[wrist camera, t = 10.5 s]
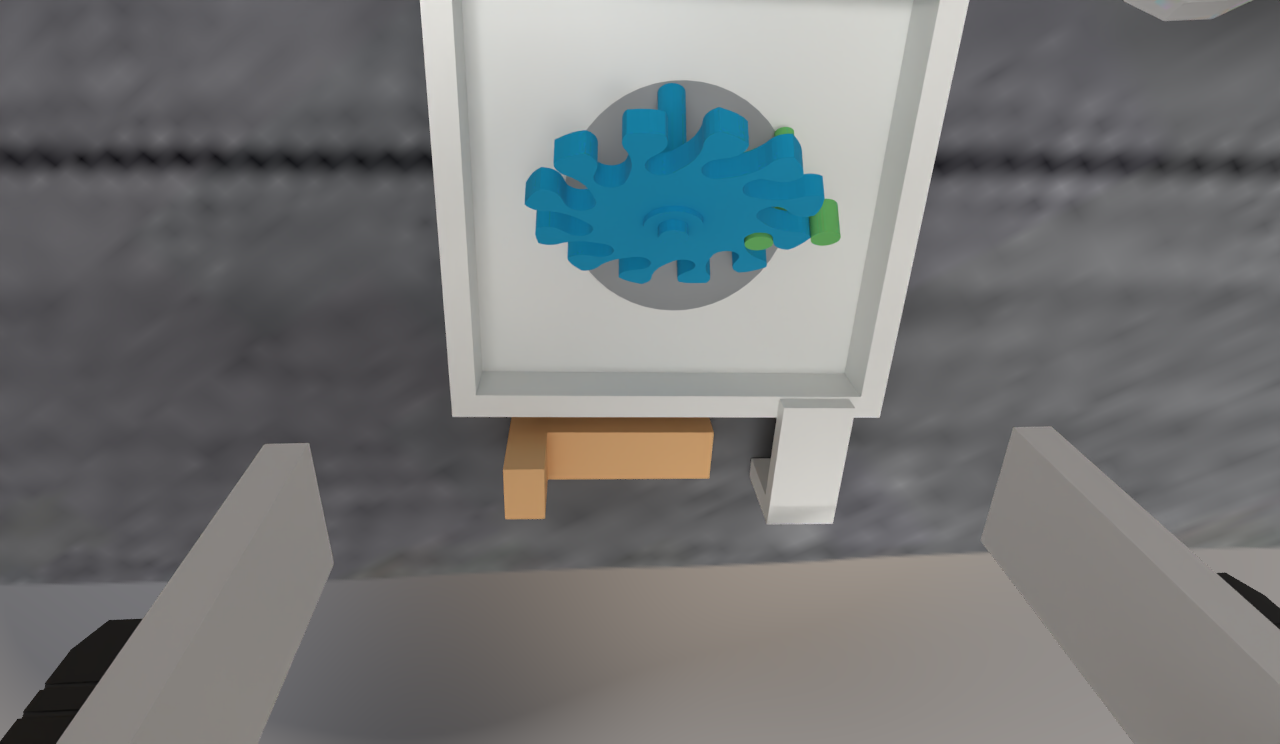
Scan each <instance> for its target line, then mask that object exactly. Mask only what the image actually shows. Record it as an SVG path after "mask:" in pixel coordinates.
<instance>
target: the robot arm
mask: <svg viewBox="0 0 1280 744" xmlns="http://www.w3.org/2000/svg"><path fill="white" fill-rule="evenodd" d="M981 542H982V543H983V545H984V546H985V547H986V549H987V550H988V551H989V553H990V554H991V555H992V556H993V558H994V559H995V560H996V562H997V563H998V564H999V566H1000V567H1001V568H1002V570H1003V571H1004V572H1005V574H1006V575H1007V576H1008V577H1009V579H1010V580H1011V582H1012V583H1013V584H1014V586H1015V587H1016V588H1017V589H1018V591H1019V592H1020V594H1021V595H1022V596H1023V597H1024V599H1025V600H1026V601H1027V603H1028V604H1029V605H1030V607H1031V608H1032V609H1033V611H1034V612H1035V613H1036V615H1037V616H1038V617H1039V619H1040V620H1041V621H1042V623H1043V624H1044V625H1045V627H1046V628H1047V629H1048V631H1049V632H1050V633H1051V635H1052V636H1053V637H1054V639H1055V640H1056V641H1057V642H1058V644H1059V645H1060V646H1061V648H1062V649H1063V650H1064V652H1065V653H1066V654H1067V656H1068V657H1069V658H1070V660H1071V661H1072V662H1073V664H1074V665H1075V666H1076V668H1077V669H1078V670H1079V672H1080V673H1081V674H1082V675H1083V677H1084V678H1085V679H1086V681H1087V682H1088V683H1089V684H1090V686H1091V687H1092V689H1093V690H1094V691H1095V693H1096V694H1097V695H1098V697H1099V698H1100V699H1101V701H1102V702H1103V703H1104V705H1105V706H1106V707H1107V709H1108V710H1109V711H1110V712H1111V714H1112V715H1113V717H1114V718H1115V719H1116V720H1117V722H1118V723H1119V724H1120V726H1121V727H1122V728H1123V730H1124V731H1125V732H1126V734H1127V735H1128V736H1129V738H1130V739H1131V740H1132V742H1133V743H1134V744H1280V608H1279V607H1277V606H1276V605H1275V604H1274V603H1272V602H1271V601H1270V600H1269V599H1268V598H1267V597H1266V596H1265V595H1263V594H1261V593H1260V592H1258V591H1256V590H1254V589H1253V588H1251V587H1249V586H1247V585H1246V584H1244V583H1242V582H1240V581H1239V580H1237V579H1235V578H1234V577H1232V576H1230V575H1228V574H1227V573H1215V572H1214V571H1213V570H1212V569H1211V568H1210V567H1209V566H1208V565H1206V564H1205V563H1204V562H1203V561H1202V560H1201V559H1200V558H1198V557H1197V556H1196V555H1195V554H1194V553H1193V552H1192V551H1191V550H1190V549H1188V548H1187V547H1186V546H1185V545H1184V544H1183V543H1182V542H1181V541H1179V540H1178V539H1177V538H1176V537H1175V536H1174V535H1173V534H1172V533H1170V532H1169V531H1168V530H1167V529H1166V528H1165V527H1164V526H1163V525H1161V524H1160V523H1159V522H1158V521H1157V520H1156V519H1155V518H1154V517H1152V516H1151V515H1150V514H1149V513H1148V512H1147V511H1146V510H1145V509H1143V508H1142V507H1141V506H1140V505H1139V504H1138V503H1137V502H1136V501H1134V500H1133V499H1132V498H1131V497H1130V496H1129V495H1128V494H1127V493H1125V492H1124V491H1123V490H1122V489H1121V488H1120V487H1119V486H1118V485H1116V484H1115V483H1114V482H1113V481H1112V480H1111V479H1110V478H1109V477H1107V476H1106V475H1105V474H1104V473H1103V472H1102V471H1101V470H1100V469H1098V468H1097V467H1096V466H1095V465H1094V464H1093V463H1092V462H1091V461H1089V460H1088V459H1087V458H1086V457H1085V456H1084V455H1083V454H1082V453H1080V452H1079V451H1078V450H1077V449H1076V448H1075V447H1074V446H1073V445H1071V444H1070V443H1069V442H1068V441H1067V440H1066V439H1065V438H1064V437H1062V436H1061V435H1060V434H1059V433H1058V432H1057V431H1056V430H1055V429H1053V428H1052V427H1051V426H1047V427H1013V430H1012V434H1011V437H1010V441H1009V444H1008V448H1007V451H1006V455H1005V458H1004V461H1003V465H1002V468H1001V472H1000V475H999V479H998V482H997V486H996V489H995V493H994V496H993V500H992V503H991V507H990V510H989V513H988V517H987V520H986V524H985V527H984V531H983V534H982V538H981ZM333 565H334V562H333V557H332V552H331V547H330V542H329V537H328V533H327V528H326V523H325V518H324V513H323V508H322V503H321V499H320V494H319V489H318V484H317V479H316V474H315V469H314V465H313V460H312V455H311V450H310V445H309V443H287V444H264V445H263V447H262V448H261V450H260V451H259V452H258V454H257V455H256V457H255V458H254V460H253V461H252V462H251V464H250V465H249V467H248V468H247V470H246V471H245V473H244V474H243V475H242V477H241V478H240V480H239V481H238V483H237V484H236V485H235V487H234V488H233V490H232V491H231V493H230V494H229V496H228V497H227V498H226V500H225V501H224V503H223V504H222V506H221V507H220V508H219V510H218V511H217V513H216V514H215V516H214V517H213V519H212V520H211V521H210V523H209V524H208V526H207V527H206V529H205V530H204V532H203V533H202V534H201V536H200V537H199V539H198V540H197V542H196V543H195V544H194V546H193V547H192V549H191V550H190V552H189V553H188V555H187V556H186V557H185V559H184V560H183V562H182V563H181V565H180V566H179V567H178V569H177V570H176V572H175V573H174V575H173V576H172V578H171V579H170V580H169V582H168V583H167V585H166V586H165V588H164V589H163V591H162V592H161V593H160V595H159V596H158V598H157V599H156V601H155V602H154V604H153V605H152V606H151V608H150V609H149V611H148V612H147V614H146V615H145V616H144V618H143V619H126V620H109V621H108V622H106V623H105V624H103V625H102V626H101V627H100V628H98V629H97V630H96V631H95V632H93V633H92V634H91V635H89V636H88V637H87V638H85V639H84V640H83V641H82V642H80V643H79V644H78V645H76V646H75V647H74V648H73V649H71V650H70V652H69V653H68V654H67V656H66V657H65V658H64V660H63V661H62V662H61V663H60V665H59V666H58V667H57V669H56V670H55V671H54V672H53V674H52V675H51V676H50V678H49V679H48V680H47V682H46V683H45V689H44V690H40V691H39V692H38V693H37V694H36V696H35V697H34V698H33V700H32V701H31V702H30V704H29V705H28V706H27V708H26V709H25V710H24V712H23V713H24V714H23V717H22V719H17V721H16V722H15V723H14V724H13V726H12V727H11V728H10V729H9V731H8V732H7V733H6V735H5V736H4V737H3V738H2V740H1V741H0V744H258V742H259V740H260V737H261V735H262V732H263V730H264V728H265V725H266V723H267V721H268V718H269V716H270V713H271V711H272V709H273V706H274V704H275V702H276V699H277V697H278V695H279V692H280V690H281V687H282V685H283V683H284V680H285V678H286V676H287V673H288V671H289V669H290V666H291V664H292V661H293V659H294V657H295V655H296V652H297V650H298V647H299V645H300V643H301V640H302V638H303V636H304V633H305V631H306V628H307V626H308V623H309V621H310V619H311V616H312V614H313V612H314V610H315V607H316V605H317V602H318V600H319V598H320V595H321V593H322V591H323V588H324V586H325V584H326V581H327V579H328V577H329V574H330V572H331V570H332V567H333Z"/></svg>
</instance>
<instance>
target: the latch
mask: <svg viewBox="0 0 1280 744" xmlns="http://www.w3.org/2000/svg"><path fill="white" fill-rule="evenodd" d="M713 436H714V431H713V428H712V425H711V422H710V419H709V417H512V418H511V424H510V430H509V436H508V442H507V448H506V454H505V460H504V466H503V481H504V503H505V519H545V511H546V496H547V481H548V479H709V475H710V465H711V455H712V446H713Z"/></svg>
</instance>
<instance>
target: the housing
mask: <svg viewBox="0 0 1280 744" xmlns="http://www.w3.org/2000/svg"><path fill="white" fill-rule="evenodd" d="M968 4H969V0H420V8H421V21H422V34H423V47H424V59H425V72H426V85H427V98H428V111H429V124H430V136H431V149H432V162H433V175H434V188H435V201H436V213H437V226H438V239H439V252H440V265H441V277H442V290H443V303H444V316H445V329H446V342H447V354H448V367H449V380H450V393H451V406H452V417H777V419H776V426H775V433H774V440H773V447H772V454H771V458H752V459H751V467H750V474H749V476H750V479H751V482H752V485H753V487H754V490H755V493H756V496H757V498H758V501H759V504H760V507H761V509H762V512H763V515H764V518H765V521H766V523H767V524H833V520H834V515H835V510H836V505H837V500H838V494H839V489H840V484H841V479H842V474H843V469H844V464H845V459H846V454H847V449H848V444H849V439H850V433H851V428H852V423H853V418H880V414H881V409H882V404H883V400H884V395H885V390H886V386H887V381H888V376H889V372H890V367H891V362H892V358H893V353H894V348H895V344H896V339H897V334H898V330H899V325H900V320H901V316H902V311H903V306H904V302H905V297H906V292H907V288H908V283H909V278H910V274H911V269H912V264H913V260H914V255H915V250H916V246H917V241H918V237H919V232H920V227H921V223H922V218H923V213H924V209H925V204H926V199H927V195H928V190H929V185H930V181H931V176H932V171H933V167H934V162H935V157H936V153H937V148H938V143H939V139H940V134H941V129H942V125H943V120H944V115H945V111H946V106H947V101H948V97H949V92H950V87H951V83H952V78H953V73H954V69H955V64H956V59H957V55H958V50H959V46H960V41H961V36H962V32H963V27H964V22H965V18H966V13H967V8H968ZM668 83H677V84H680V85H681V86H683V87H684V89H685V92H686V137H687V142H688V141H689V140H690V139H691V138H693V137H694V136H695V135H696V133H697V132H698V131H699V129H700V127H701V125H702V122H703V118H704V116H705V115H706V114H707V113H708V112H709V111H711V110H712V109H714V108H717V107H721V108H724V109H727V110H730V111H732V112H735V113H737V114H739V115H741V116H742V117H744V118H745V119H746V120H747V121H748V133H749V147H748V149H747V150H746V151H749V150H752V149H754V148H757V147H759V146H761V145H762V144H764V143H766V142H767V141H769V140H770V139H771V138H773V137H774V133H775V131H776V130H777V129H779V128H782V127H790V128H792V129H793V130H794V136H795V137H796V138H797V140H798V141H799V143H800V145H801V148H802V158H803V171H804V174H819V175H821V176H823V185H824V196H825V199H832V200H835V201H836V202H837V204H838V214H839V224H840V235H841V238H840V240H839V241H838V242H836V243H834V244H831V245H826V246H819V245H815V244H813V243H812V242H811V238H810V239H808V240H807V241H805V242H804V243H802V244H800V245H799V246H797V247H795V248H792V249H789V250H784V249H780V248H777V247H776V246H775V245H774V243H773V245H772V246H771V247H769V248H767V249H766V259H767V266H766V267H765V268H762V269H758V270H754V271H749V272H741V273H739V272H736V271H734V270H733V268H732V252H731V251H722V252H718V253H715V254H714V255H713V256H712V257H711V258H710V280H709V281H708V282H707V283H683V282H679V281H678V280H677V260H675V261H673V262H670V263H668V264H665V265H663V266H661V267H660V268H658V269H657V270H656V271H655V272H654V273H653V275H652V278H651V280H650V281H648V282H647V283H644V284H638V283H634V282H630V281H626V280H623V279H621V278H619V259H616V260H612V261H609V262H606V263H604V264H602V265H600V266H599V267H597V268H595V269H593V270H587V271H582V270H580V269H578V268H577V267H575V266H574V265H572V264H571V263H570V262H569V261H568V259H567V256H568V242H565V243H560V244H556V245H545V244H540V243H538V241H537V239H536V235H535V230H536V211H537V210H534V209H531V208H529V207H527V206H526V205H525V187H526V181H527V180H528V178H529V177H530V175H531V174H532V173H533V172H534V171H535V170H537V169H539V168H540V167H546V168H551V169H554V170H556V169H555V167H554V163H553V162H554V140H555V139H557V138H559V137H561V136H564V135H566V134H569V133H572V132H576V131H582V130H587V131H589V132H591V133H593V134H594V135H595V136H596V138H597V140H598V162H600V163H602V164H605V165H617V164H620V163H622V162H624V161H625V160H626V158H627V156H628V153H627V151H626V150H625V149H624V148H623V145H622V116H623V113H624V112H625V111H626V110H627V109H656V110H658V93H657V92H658V89H659V88H660V87H661V86H662V85H665V84H668ZM746 151H745V152H746ZM556 171H557V170H556ZM560 174H561V173H560ZM561 175H562V176H563V178H564V180H565V182H566V183H567V184H568V185H569V186H571V187H573V188H576V189H588V188H587V187H586V186H585V185H583V184H582V183H580V182H579V181H577V180H575V179H573V178H571V177H568V176H566V175H563V174H561Z"/></svg>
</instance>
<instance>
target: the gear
mask: <svg viewBox="0 0 1280 744" xmlns="http://www.w3.org/2000/svg"><path fill="white" fill-rule="evenodd" d="M657 93H658V110H656V109H627V110H626V111H625V112H624V113H623V116H622V145H623V148H624V149H625V150H626V151H627V153H628V156H627V158H626V160H625V161H624V162H622V163H620V164H617V165H605V164H602V163H600V162H598V140H597V138H596V136H595V135H594V134H593V133H591V132H589V131H587V130H582V131H576V132H572V133H569V134H566V135H564V136H561V137H559V138H557V139H555V140H554V162H553V163H554V167H555V169H556V170H557V171H556V170H554V169H551V168H546V167H540V168H539V169H537V170H535V171H534V172H533V173H532V174H531V175H530V177H529V178H528V180H527V181H526V187H525V205H526V206H527V207H529V208H531V209H534V210H537V211H536V230H535V235H536V239H537V241H538V243H540V244H545V245H556V244H560V243H565V242H568V256H567V259H568V261H569V262H570V263H571V264H572V265H574V266H575V267H577V268H578V269H580V270H582V271H587V270H593V269H595V268H597V267H599V266H600V265H602V264H604V263H606V262H609V261H612V260H616V259H619V278H621V279H623V280H626V281H630V282H634V283H638V284H644V283H647V282H648V281H650V280H651V278H652V275H653V273H654V272H655V271H656V270H657V269H658V268H660V267H661V266H663V265H665V264H668V263H670V262H673V261H675V260H677V280H678V281H679V282H683V283H707V282H708V281H709V280H710V258H711V257H712V256H713V255H714V254H715V253H718V252H722V251H731V252H732V268H733V270H734V271H736V272H739V273H741V272H749V271H754V270H758V269H762V268H765V267H766V266H767V259H766V249H767V248H769V247H771V246H772V245H773V243H774V245H775V246H776V247H777V248H780V249H784V250H789V249H792V248H795V247H797V246H799V245H800V244H802V243H804V242H805V241H807V240H808V239H810V238H811V242H812V243H813V244H815V245H819V246H826V245H831V244H834V243H836V242H838V241H839V240H840V238H841V235H840V224H839V214H838V204H837V202H836V201H835V200H832V199H825V196H824V185H823V176H821V175H819V174H804V171H803V158H802V148H801V145H800V143H799V141H798V140H797V138H796V137H795V136H794V130H793V129H792V128H790V127H782V128H779V129H777V130H776V131H775V133H774V137H773V138H771V139H770V140H769V141H767V142H766V143H764V144H762V145H761V146H759V147H757V148H754V149H752V150H749V151H746V150H747V149H748V147H749V133H748V121H747V120H746V119H745V118H744V117H742V116H741V115H739V114H737V113H735V112H732V111H730V110H727V109H724V108H721V107H717V108H714V109H712V110H711V111H709V112H708V113H707V114H706V115H705V116H704V118H703V122H702V125H701V127H700V129H699V131H698V132H697V133H696V135H695V136H694V137H693V138H691V139H690V140H689V141H688V142H687V137H686V92H685V89H684V87H683V86H681V85H680V84H677V83H668V84H665V85H662V86H661V87H660V88H659V89H658V92H657ZM745 151H746V152H745ZM560 173H561V174H563V175H566V176H568V177H571V178H573V179H575V180H577V181H579V182H580V183H582V184H583V185H585V186H586V187H587V188H588V189H576V188H573V187H571V186H569V185H568V184H567V183H566V182H565V180H564V178H563V176H562V175H561V174H560Z"/></svg>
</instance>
